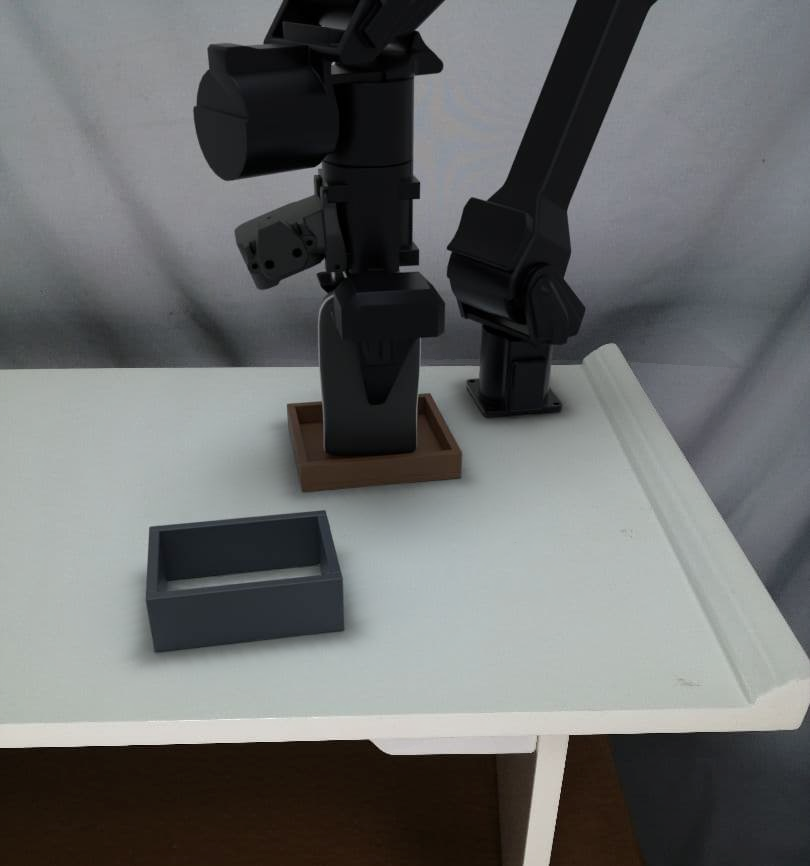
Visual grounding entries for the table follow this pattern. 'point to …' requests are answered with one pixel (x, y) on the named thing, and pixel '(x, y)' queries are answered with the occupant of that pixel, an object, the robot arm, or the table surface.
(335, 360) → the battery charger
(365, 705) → the table surface
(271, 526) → the dock
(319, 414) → the tray
